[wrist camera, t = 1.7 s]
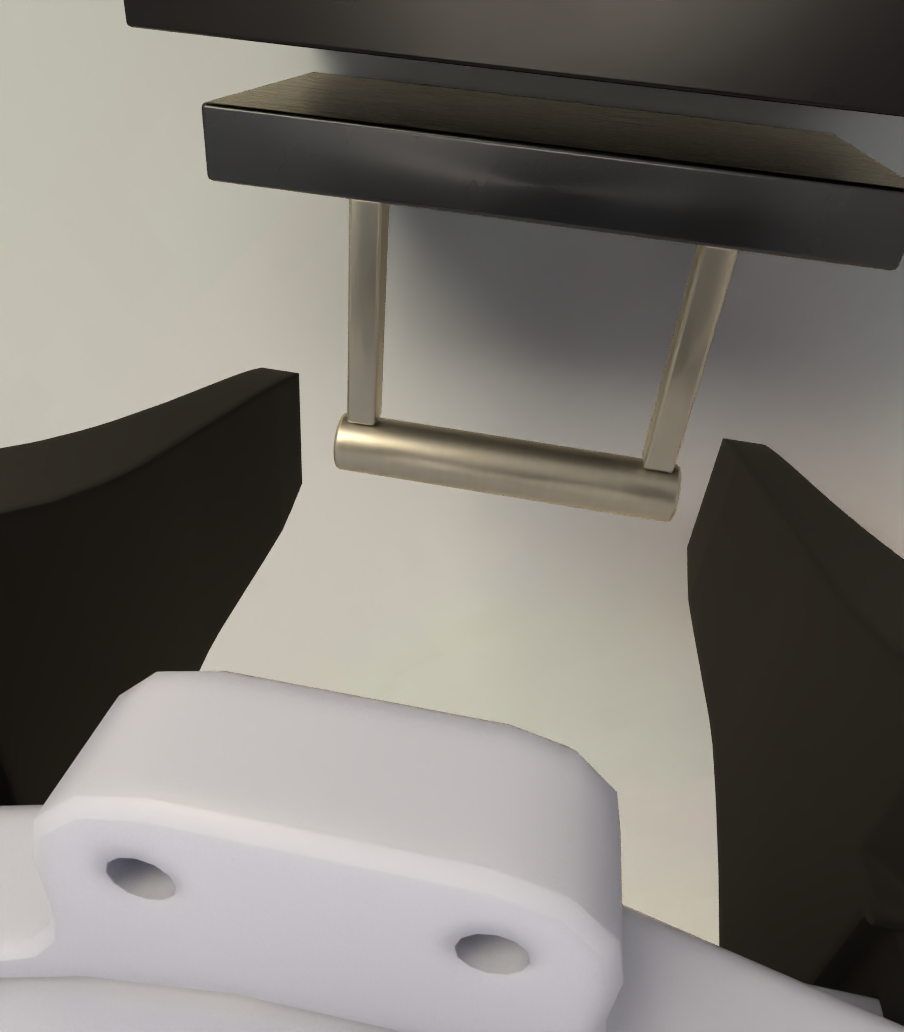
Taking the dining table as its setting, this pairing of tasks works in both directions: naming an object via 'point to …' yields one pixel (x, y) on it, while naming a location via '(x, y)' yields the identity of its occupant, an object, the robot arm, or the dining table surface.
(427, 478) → the drawer
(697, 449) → the dining table surface
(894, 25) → the cabinet
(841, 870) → the robot arm
